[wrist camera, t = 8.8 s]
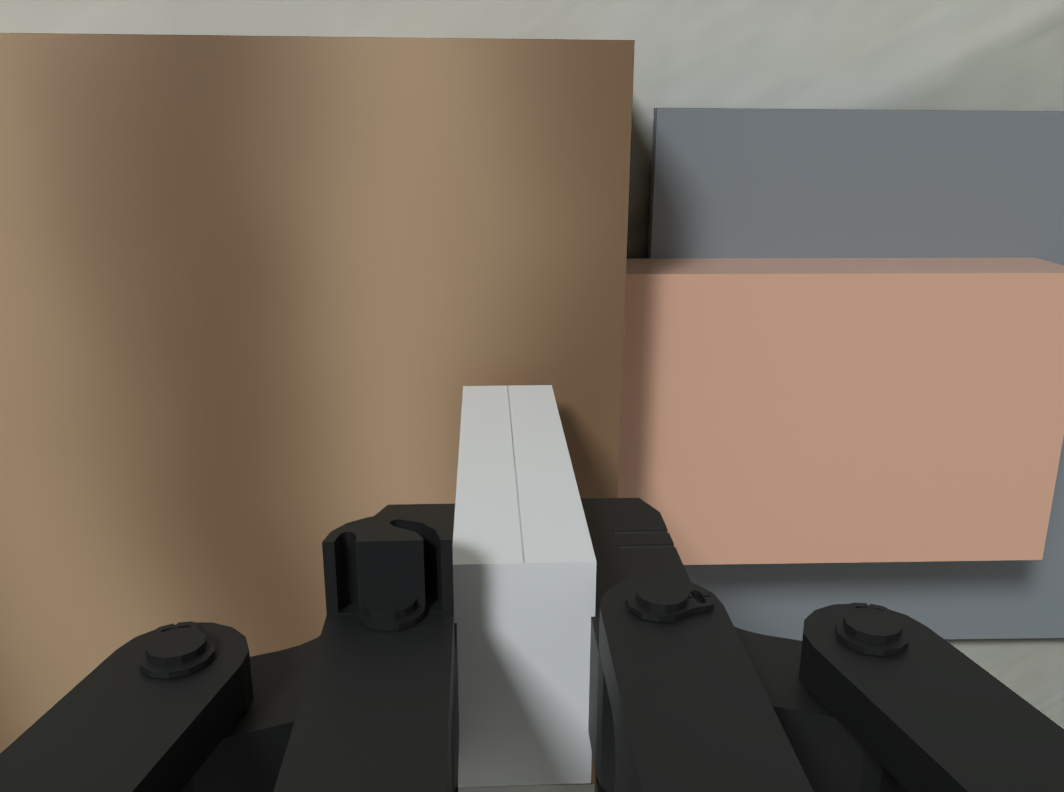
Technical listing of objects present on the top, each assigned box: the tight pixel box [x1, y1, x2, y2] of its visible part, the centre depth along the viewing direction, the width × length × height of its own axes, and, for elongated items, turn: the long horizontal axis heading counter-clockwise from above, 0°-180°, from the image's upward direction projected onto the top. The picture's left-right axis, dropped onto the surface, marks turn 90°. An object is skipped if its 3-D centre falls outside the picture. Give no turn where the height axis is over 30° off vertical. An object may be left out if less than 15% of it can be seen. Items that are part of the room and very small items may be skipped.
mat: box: [648, 108, 1064, 641], centre depth 21 cm, size 14×12×1 cm
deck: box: [0, 33, 635, 785], centre depth 19 cm, size 14×14×4 cm
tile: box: [618, 258, 1064, 565], centre depth 20 cm, size 9×6×2 cm, turn 90°
